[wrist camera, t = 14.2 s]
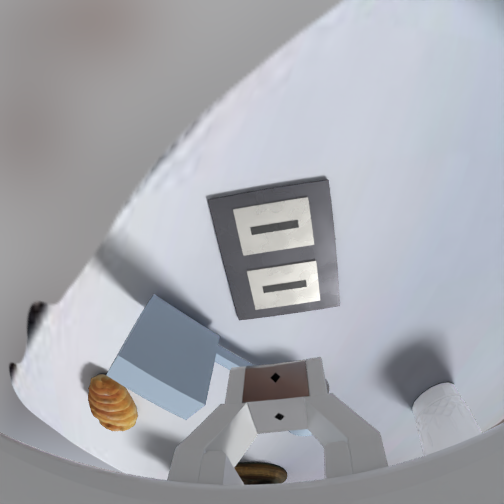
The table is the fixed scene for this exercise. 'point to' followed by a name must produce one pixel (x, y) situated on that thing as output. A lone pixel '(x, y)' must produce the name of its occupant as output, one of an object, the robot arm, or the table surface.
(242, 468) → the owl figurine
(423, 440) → the white cup
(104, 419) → the pastry
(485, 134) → the table surface
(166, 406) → the swing arm
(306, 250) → the label panel
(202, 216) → the table surface
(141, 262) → the table surface
